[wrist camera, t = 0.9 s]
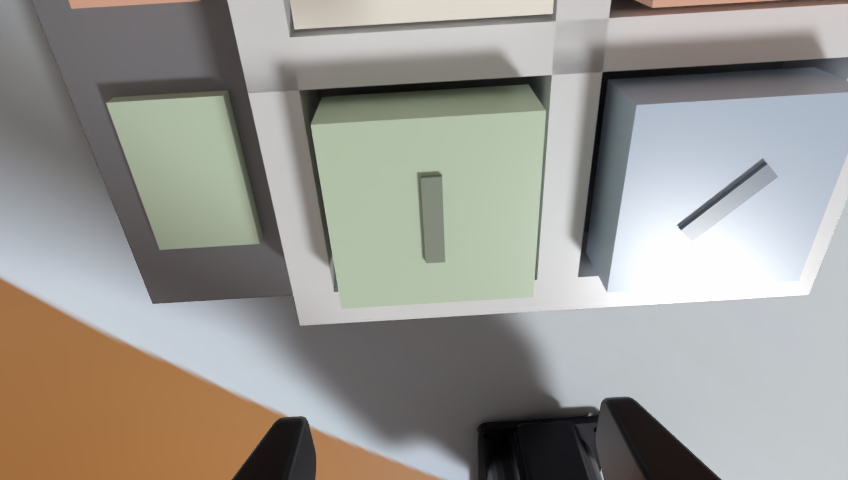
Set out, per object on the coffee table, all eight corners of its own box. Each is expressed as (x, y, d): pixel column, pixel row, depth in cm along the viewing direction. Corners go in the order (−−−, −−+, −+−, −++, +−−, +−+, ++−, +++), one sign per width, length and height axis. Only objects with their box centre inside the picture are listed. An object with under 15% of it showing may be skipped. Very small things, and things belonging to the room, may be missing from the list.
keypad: (733, 222, 22) (823, 311, 17) (182, 256, 22) (122, 353, 17) (914, -405, 13) (1206, -577, 8) (-26, -349, 13) (-271, -489, 8)
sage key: (519, 256, 17) (533, 299, 15) (347, 266, 17) (340, 311, 15) (528, 84, 14) (547, 112, 12) (321, 96, 14) (309, 126, 12)
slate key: (758, 241, 17) (801, 283, 15) (586, 252, 17) (608, 295, 15) (814, 66, 14) (876, 92, 12) (608, 79, 14) (638, 106, 12)
